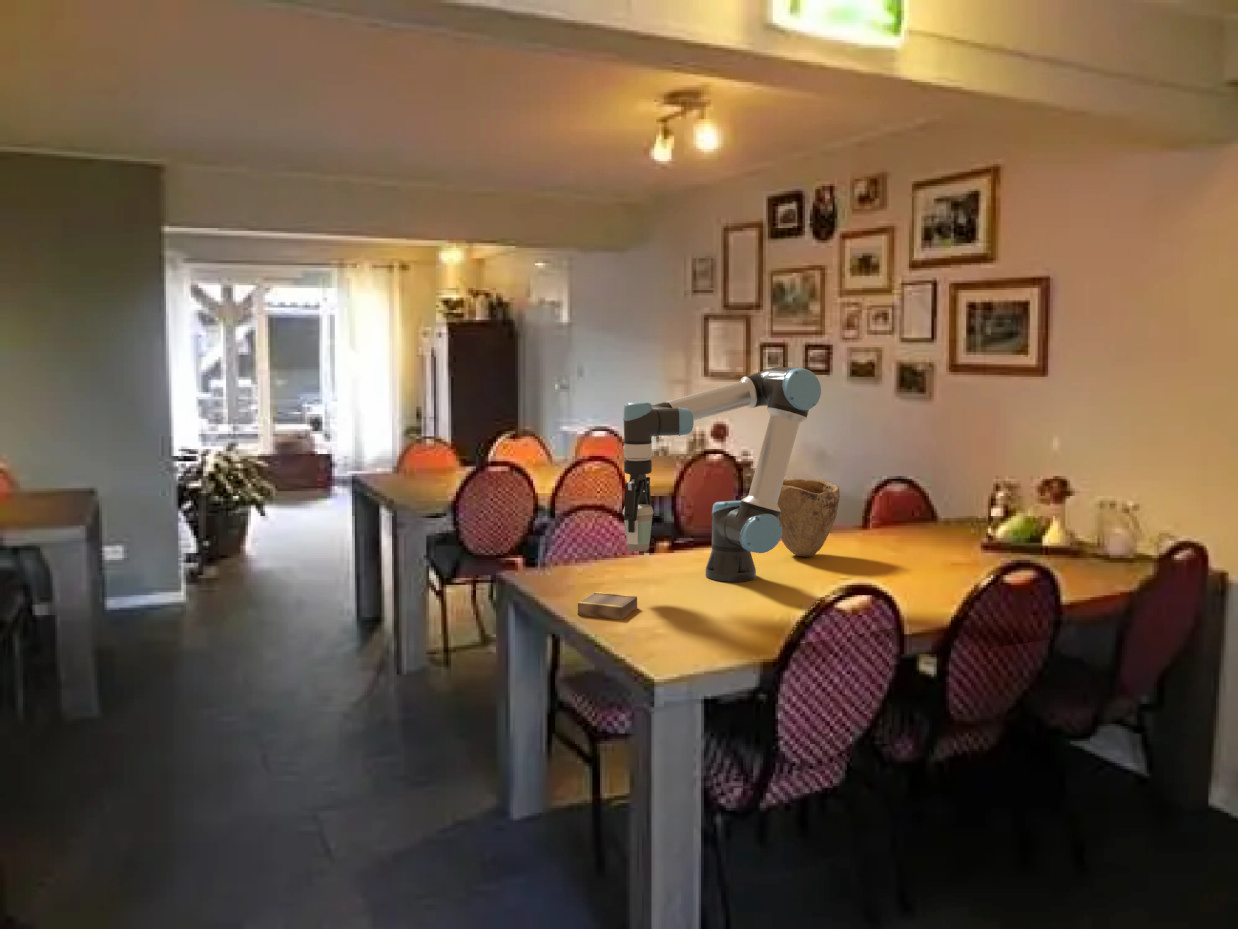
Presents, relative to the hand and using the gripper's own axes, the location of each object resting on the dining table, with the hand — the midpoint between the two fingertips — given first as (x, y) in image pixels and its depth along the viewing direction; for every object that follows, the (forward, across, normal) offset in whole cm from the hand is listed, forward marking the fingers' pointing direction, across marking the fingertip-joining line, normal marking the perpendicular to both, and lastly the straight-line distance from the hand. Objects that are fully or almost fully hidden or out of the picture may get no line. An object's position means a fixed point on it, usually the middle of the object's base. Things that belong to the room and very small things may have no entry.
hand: (638, 540), depth 276 cm
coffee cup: (+3, 0, 0) cm, 3 cm away
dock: (+16, +17, -2) cm, 24 cm away
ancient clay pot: (+17, -71, +33) cm, 80 cm away
